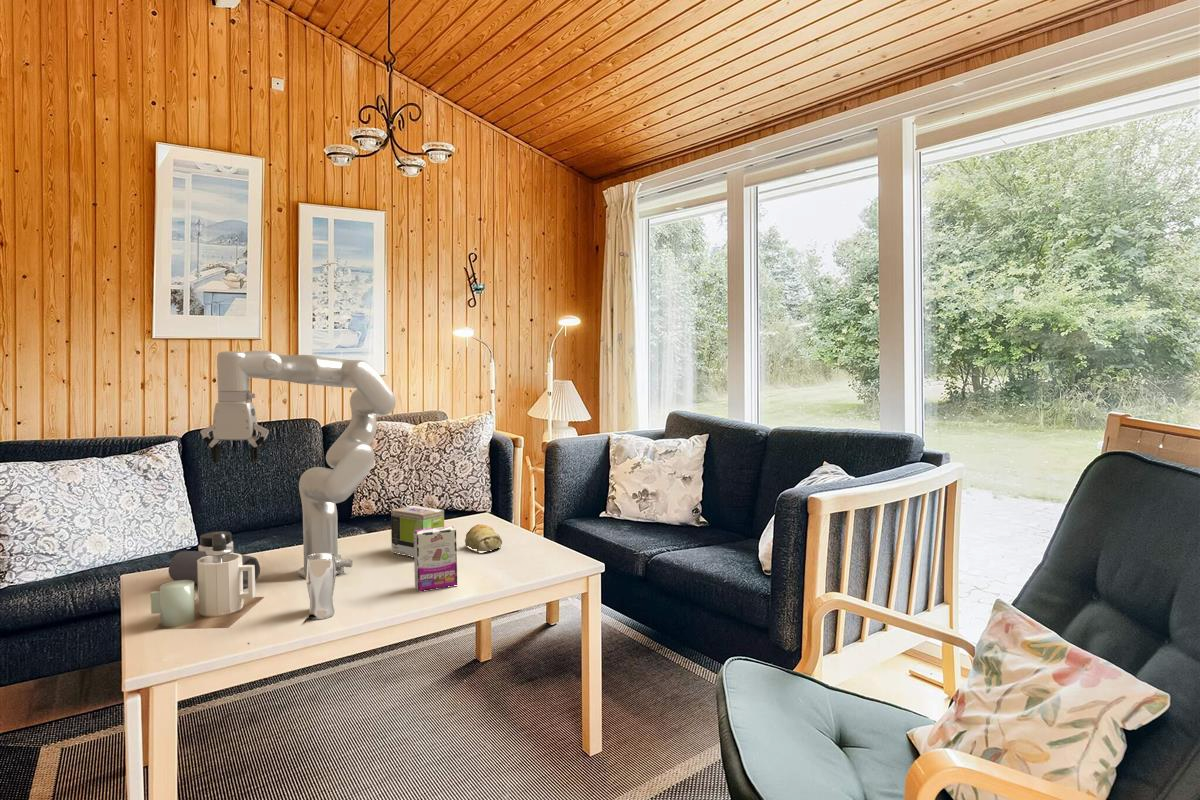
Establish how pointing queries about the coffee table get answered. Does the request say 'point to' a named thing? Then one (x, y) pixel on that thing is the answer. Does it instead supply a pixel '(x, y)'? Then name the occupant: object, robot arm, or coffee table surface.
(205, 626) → the serving board
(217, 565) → the press carafe
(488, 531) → the pastry
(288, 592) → the coffee table surface
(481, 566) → the coffee table surface
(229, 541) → the jar
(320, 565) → the beer glass
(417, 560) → the candy bar box
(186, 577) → the bluetooth speaker
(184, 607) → the sage mug
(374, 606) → the coffee table surface
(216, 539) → the plunger
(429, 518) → the tea box
